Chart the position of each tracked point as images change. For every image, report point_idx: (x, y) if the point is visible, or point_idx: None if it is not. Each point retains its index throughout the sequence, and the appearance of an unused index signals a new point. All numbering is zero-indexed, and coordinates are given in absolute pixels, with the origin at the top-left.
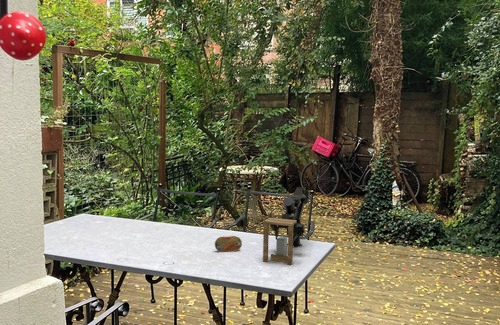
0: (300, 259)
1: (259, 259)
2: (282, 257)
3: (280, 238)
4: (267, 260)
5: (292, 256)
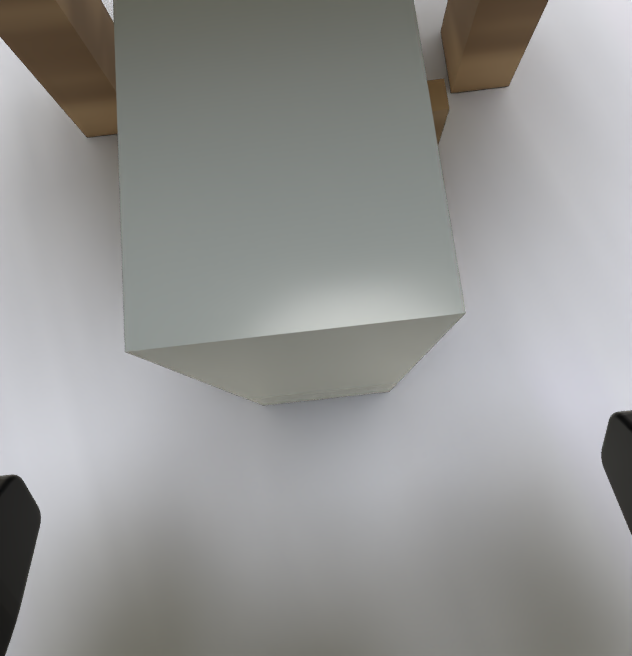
0: (25, 398)
1: (592, 91)
2: None
3: (309, 11)
4: (449, 63)
5: (24, 62)
